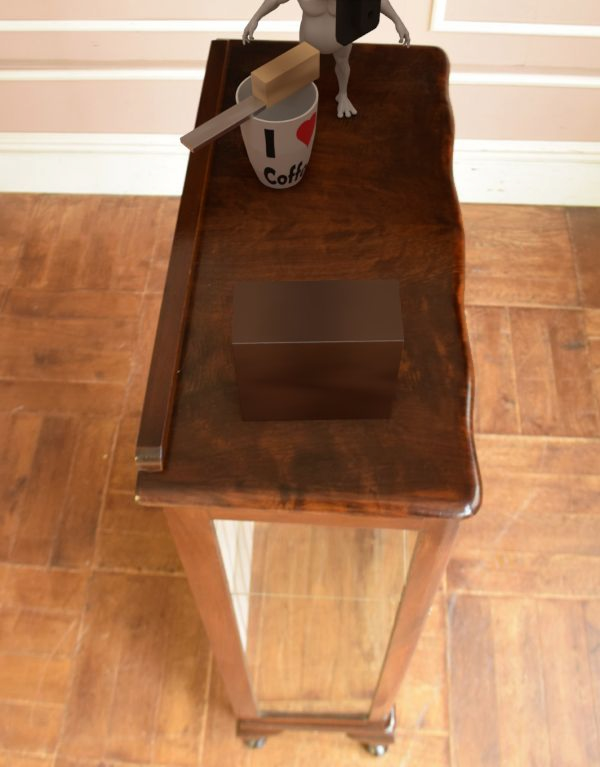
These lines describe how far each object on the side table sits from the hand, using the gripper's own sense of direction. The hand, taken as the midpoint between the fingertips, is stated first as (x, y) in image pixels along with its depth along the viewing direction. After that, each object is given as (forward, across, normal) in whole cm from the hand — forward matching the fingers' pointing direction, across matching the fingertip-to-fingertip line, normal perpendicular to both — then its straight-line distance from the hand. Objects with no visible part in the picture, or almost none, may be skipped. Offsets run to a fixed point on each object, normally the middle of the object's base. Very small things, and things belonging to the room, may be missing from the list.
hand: (304, 1), depth 49 cm
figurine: (+31, +20, -20) cm, 42 cm away
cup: (+31, +15, -9) cm, 35 cm away
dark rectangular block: (+31, -8, +7) cm, 32 cm away
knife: (+20, +15, -6) cm, 26 cm away
